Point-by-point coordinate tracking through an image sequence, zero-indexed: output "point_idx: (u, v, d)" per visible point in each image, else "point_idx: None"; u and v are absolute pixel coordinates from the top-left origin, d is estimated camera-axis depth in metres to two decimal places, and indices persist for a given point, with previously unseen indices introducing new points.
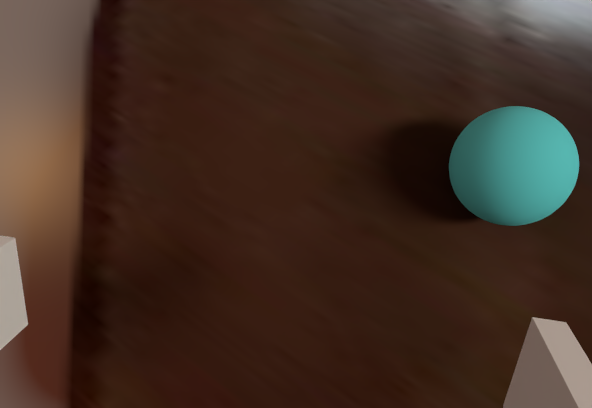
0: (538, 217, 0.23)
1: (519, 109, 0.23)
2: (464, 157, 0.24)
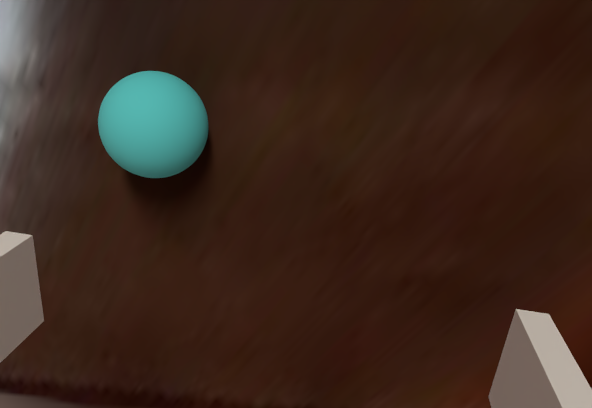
0: (196, 116, 0.27)
1: (100, 131, 0.26)
2: (146, 176, 0.28)
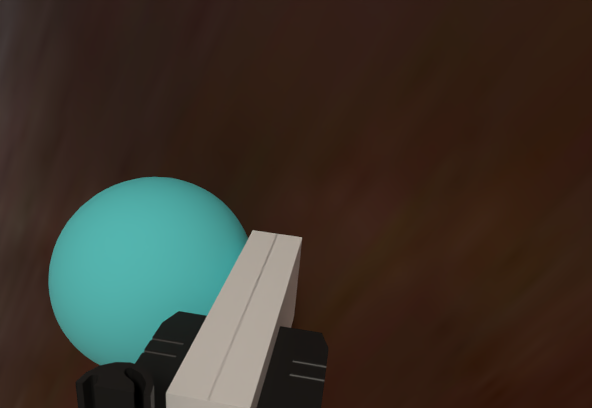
0: None
1: (51, 302, 0.14)
2: None
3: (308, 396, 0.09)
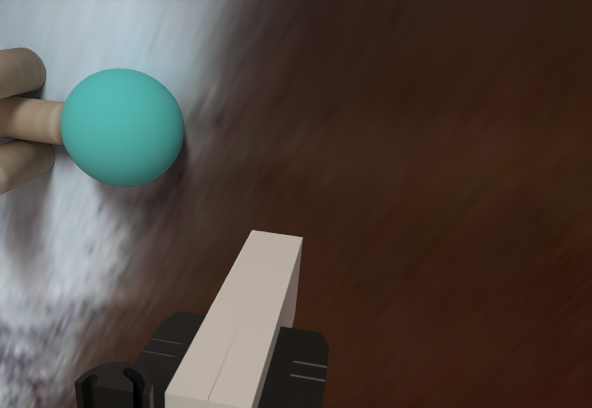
0: None
1: (174, 142, 0.25)
2: None
3: (309, 396, 0.09)
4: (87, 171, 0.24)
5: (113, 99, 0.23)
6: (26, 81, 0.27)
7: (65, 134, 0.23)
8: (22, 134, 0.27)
